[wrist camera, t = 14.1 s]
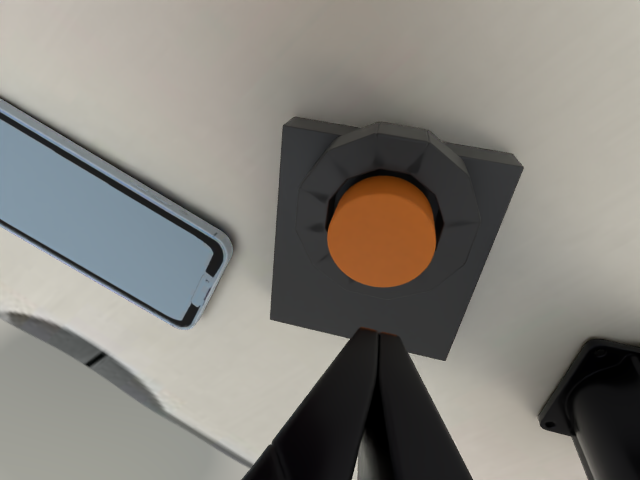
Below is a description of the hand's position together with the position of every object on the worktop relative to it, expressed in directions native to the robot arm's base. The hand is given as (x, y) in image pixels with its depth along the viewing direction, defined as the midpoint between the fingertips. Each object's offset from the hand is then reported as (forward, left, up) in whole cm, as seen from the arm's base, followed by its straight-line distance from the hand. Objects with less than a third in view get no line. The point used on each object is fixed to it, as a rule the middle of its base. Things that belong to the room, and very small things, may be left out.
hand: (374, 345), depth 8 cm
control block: (-3, 0, -10) cm, 10 cm away
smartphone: (-5, +15, -10) cm, 19 cm away
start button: (-1, 0, -7) cm, 7 cm away
